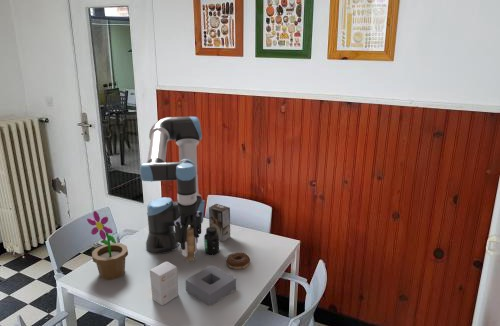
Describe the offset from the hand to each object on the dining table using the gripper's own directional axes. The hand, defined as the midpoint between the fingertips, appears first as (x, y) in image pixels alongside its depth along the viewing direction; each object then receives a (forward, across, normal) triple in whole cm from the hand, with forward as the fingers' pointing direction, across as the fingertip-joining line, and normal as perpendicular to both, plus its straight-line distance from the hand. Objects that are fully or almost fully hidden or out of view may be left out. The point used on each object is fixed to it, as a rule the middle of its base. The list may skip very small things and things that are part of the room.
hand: (189, 252), depth 161 cm
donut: (+10, +19, -10) cm, 24 cm away
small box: (+10, -17, -6) cm, 21 cm away
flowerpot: (+10, -22, +25) cm, 35 cm away
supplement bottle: (+10, +18, +6) cm, 21 cm away
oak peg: (+3, 0, 0) cm, 3 cm away
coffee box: (+10, +31, +14) cm, 35 cm away
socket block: (+9, -2, -15) cm, 18 cm away
